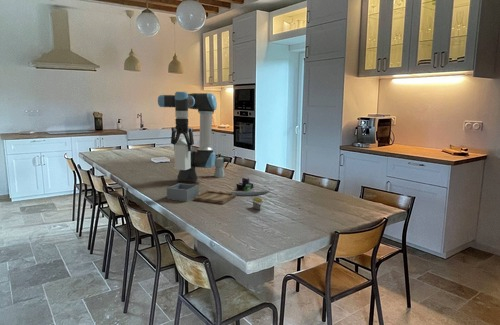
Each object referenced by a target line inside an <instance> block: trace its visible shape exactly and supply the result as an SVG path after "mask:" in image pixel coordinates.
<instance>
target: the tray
mask: <svg viewBox="0 0 500 325" xmlns="http://www.w3.org/2000/svg"><path fill="white" fill-rule="evenodd" d="M236 197H237V195H236V194H234V193H230V192H229V193H228V192H227V193H226V191H221V192H220V191H215V190H205V191H204V192H202V193H199V195H197V196H195V197H194V199H193V201H194V200H196V202H202V201H203V203H209V204H217V203H218V204H219V205H225V204H226V203H229V201H231V200H233V199H235V198H236Z"/></svg>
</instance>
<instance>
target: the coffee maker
mask: <svg viewBox="0 0 500 325" xmlns="http://www.w3.org/2000/svg"><path fill="white" fill-rule="evenodd" d="M221 155H222V154H220V153H218V154H217V156H216V159H215V163H214V168H215V169H214V173H213V174H214V175H213V176H214V178H225V177H226V175H225V174H226V173H225V170H224V169H227V168H228V165H229V164H230V160H229V159H228V158H226V157H221ZM225 163H226V164H225Z"/></svg>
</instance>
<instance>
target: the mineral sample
mask: <svg viewBox="0 0 500 325" xmlns="http://www.w3.org/2000/svg"><path fill="white" fill-rule="evenodd" d="M235 185H236V189H237V191H230V192H229V191H225V193H234V194H236V196H239V197H241V196H242V197H245V196H249V197H250V196H260V195H265V194H267V193H269V192H270V190H269V191H266V190H265V191H262V190H261V191H260V190H259V191H250V190H252V189H254V183H253V182H252V183H251V182H250V177H242V179H241V181H239V182H238V183H235ZM264 187H265V188H266V189H267V188H268V189H269V187H268V186H266V185H264ZM219 192H222V191H220V190H219Z"/></svg>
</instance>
